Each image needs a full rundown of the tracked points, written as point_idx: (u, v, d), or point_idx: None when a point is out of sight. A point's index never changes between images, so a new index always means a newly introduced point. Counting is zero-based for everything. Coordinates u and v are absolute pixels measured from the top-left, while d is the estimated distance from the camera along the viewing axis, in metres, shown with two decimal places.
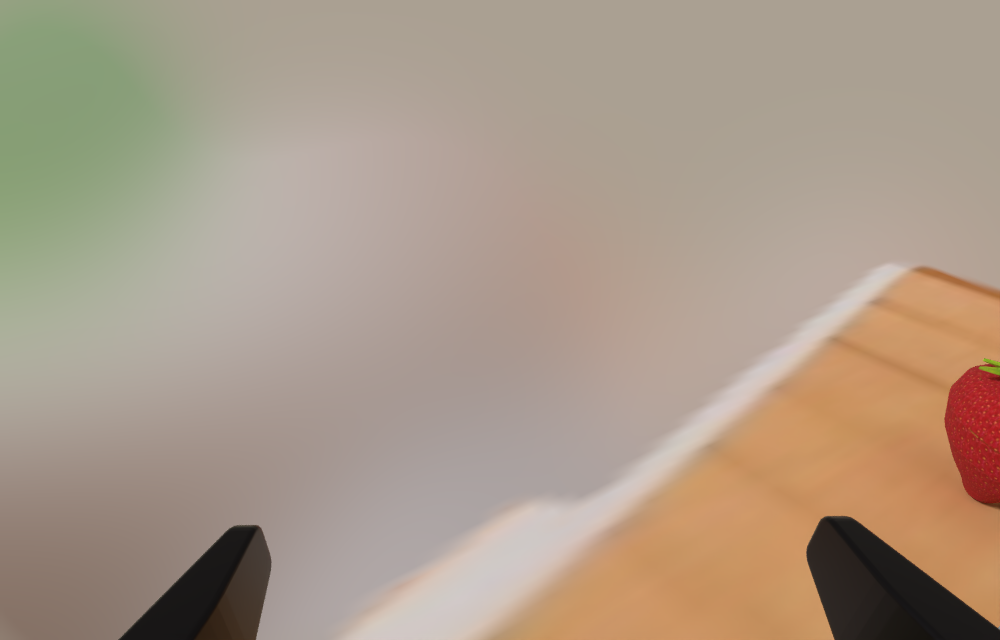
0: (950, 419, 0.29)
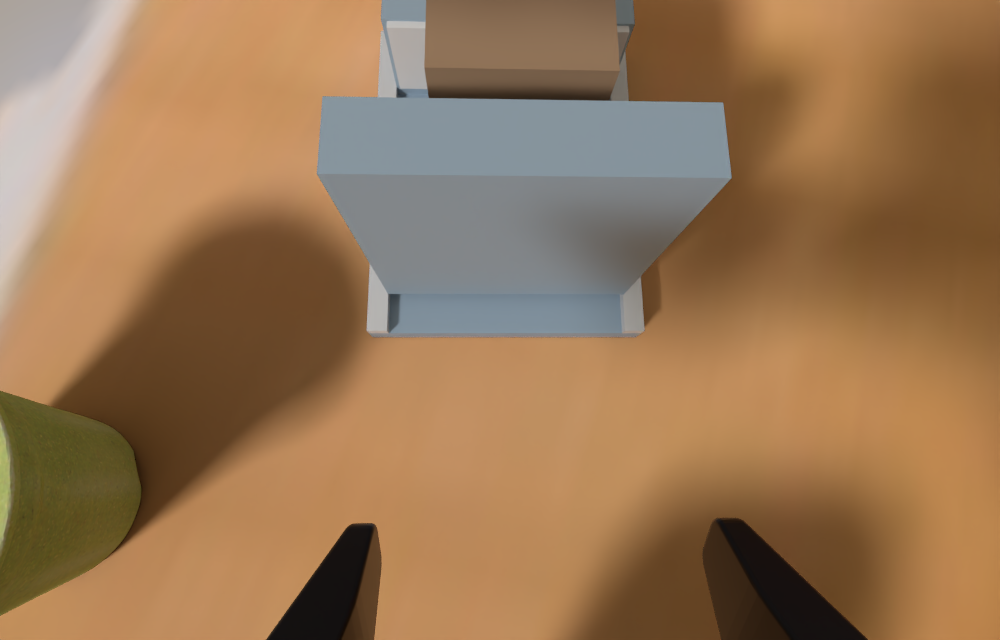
0: None
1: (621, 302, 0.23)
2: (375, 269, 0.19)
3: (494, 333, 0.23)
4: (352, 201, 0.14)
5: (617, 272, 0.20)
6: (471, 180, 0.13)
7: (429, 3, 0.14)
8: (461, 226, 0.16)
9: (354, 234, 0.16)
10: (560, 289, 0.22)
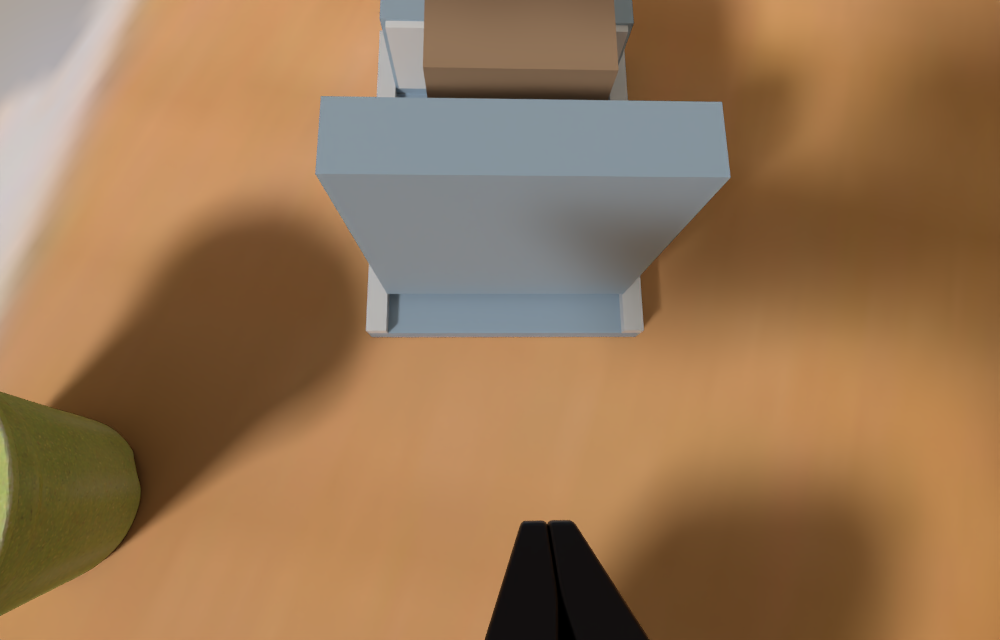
0: None
1: (621, 302, 0.23)
2: (374, 269, 0.19)
3: (493, 333, 0.23)
4: (351, 201, 0.14)
5: (616, 272, 0.20)
6: (470, 180, 0.13)
7: (427, 2, 0.14)
8: (459, 226, 0.16)
9: (353, 234, 0.16)
10: (559, 289, 0.22)
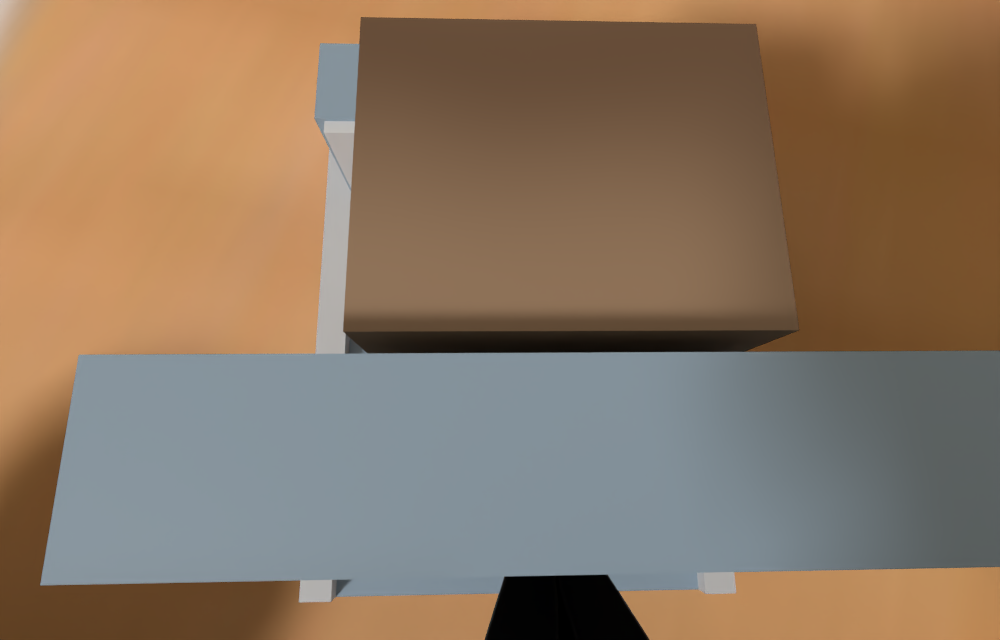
0: None
1: None
2: None
3: None
4: None
5: None
6: (452, 571, 0.05)
7: (358, 168, 0.06)
8: None
9: None
10: None
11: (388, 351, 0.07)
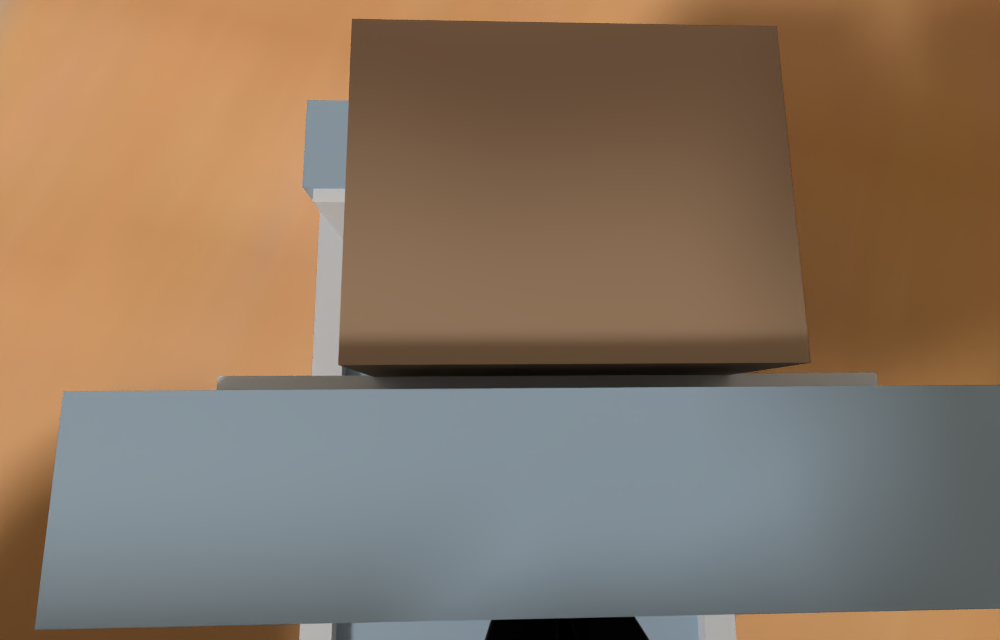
0: None
1: None
2: None
3: None
4: None
5: None
6: (451, 611, 0.05)
7: (352, 188, 0.06)
8: None
9: None
10: None
11: (385, 373, 0.07)
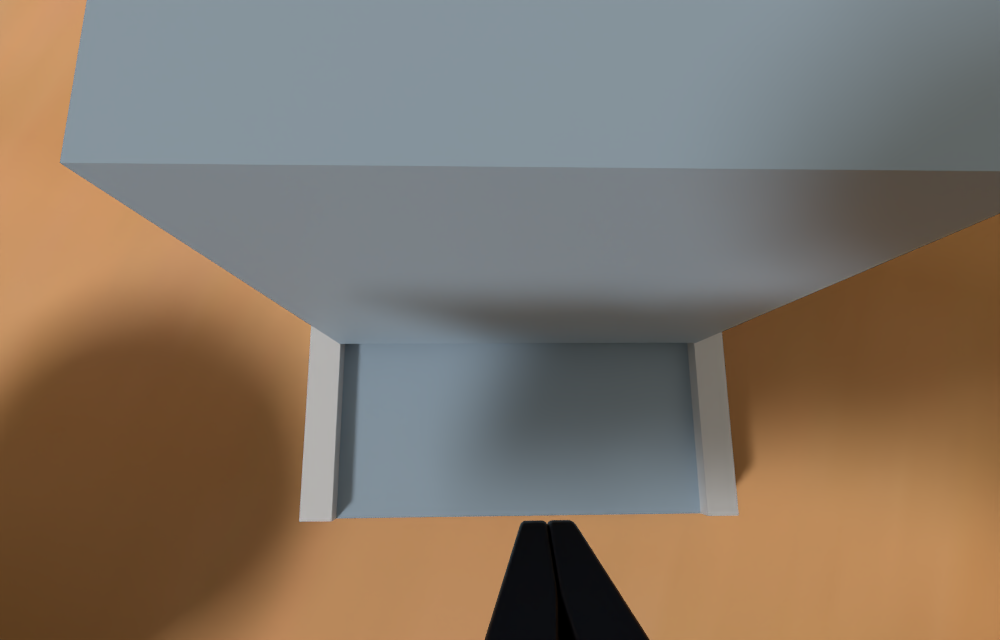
0: None
1: (700, 465, 0.15)
2: (306, 319, 0.12)
3: (502, 514, 0.15)
4: (196, 223, 0.06)
5: (701, 321, 0.12)
6: (457, 178, 0.05)
7: None
8: (441, 265, 0.08)
9: (239, 277, 0.08)
10: (602, 338, 0.14)
11: None
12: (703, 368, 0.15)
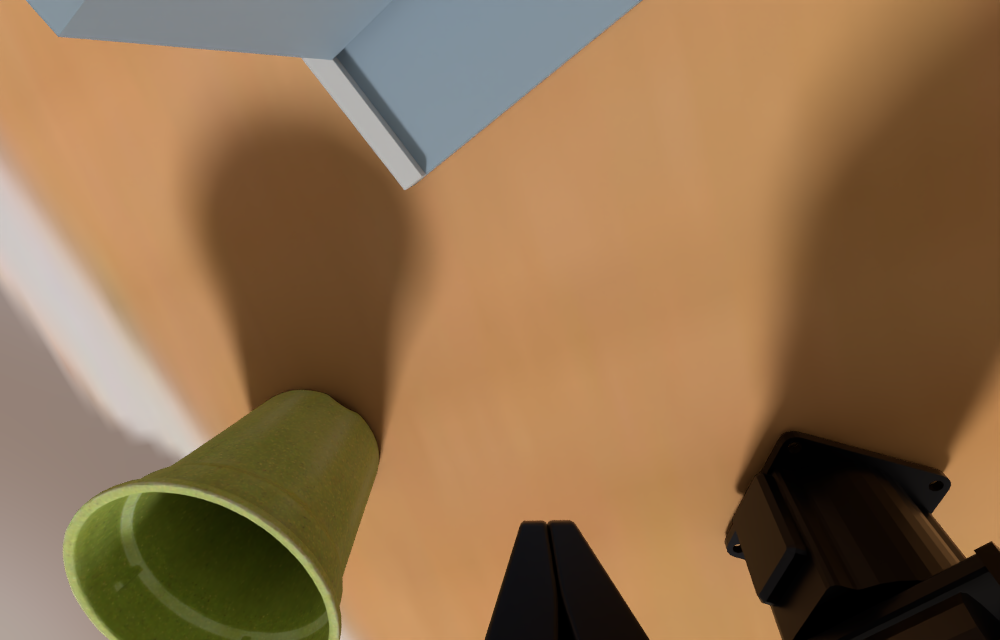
0: None
1: None
2: (284, 54, 0.15)
3: (526, 92, 0.18)
4: (144, 23, 0.10)
5: None
6: None
7: None
8: None
9: (208, 47, 0.12)
10: None
11: None
12: None
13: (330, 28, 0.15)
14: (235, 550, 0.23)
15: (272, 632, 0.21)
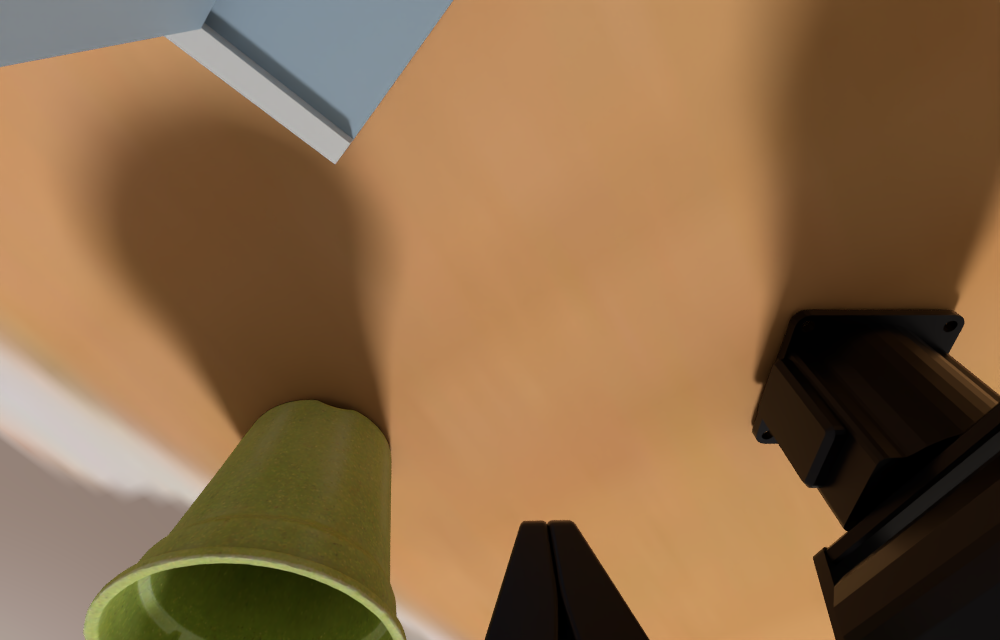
0: None
1: None
2: (138, 38, 0.12)
3: (442, 13, 0.15)
4: None
5: None
6: None
7: None
8: None
9: (32, 58, 0.09)
10: None
11: None
12: None
13: None
14: (271, 579, 0.22)
15: None
